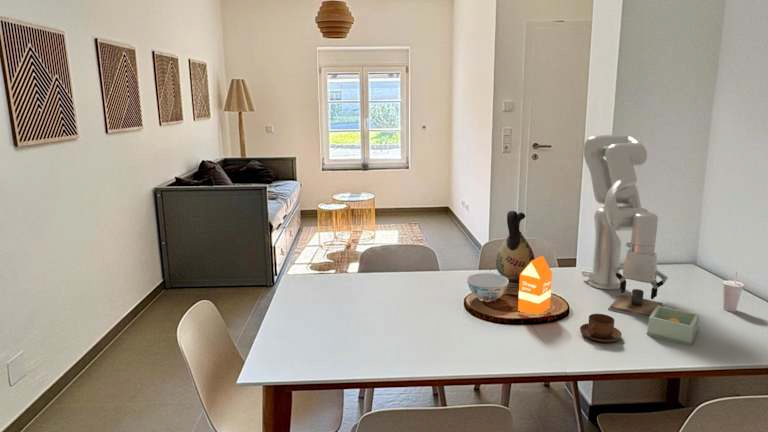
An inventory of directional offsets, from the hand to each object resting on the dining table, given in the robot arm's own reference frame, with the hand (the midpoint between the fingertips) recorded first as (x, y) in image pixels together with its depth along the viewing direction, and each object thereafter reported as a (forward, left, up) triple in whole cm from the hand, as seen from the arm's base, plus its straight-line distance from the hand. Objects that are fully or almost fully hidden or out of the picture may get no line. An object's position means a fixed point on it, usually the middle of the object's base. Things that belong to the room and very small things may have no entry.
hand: (637, 295), depth 183 cm
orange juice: (-27, -26, -5) cm, 38 cm away
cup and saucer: (-3, -31, -5) cm, 31 cm away
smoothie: (+26, +18, -5) cm, 32 cm away
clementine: (+14, -15, -2) cm, 21 cm away
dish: (+14, -15, -5) cm, 21 cm away
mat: (0, 0, -5) cm, 5 cm away
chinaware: (-46, -24, -5) cm, 52 cm away
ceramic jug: (-46, -1, -5) cm, 46 cm away
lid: (0, 0, -4) cm, 4 cm away
